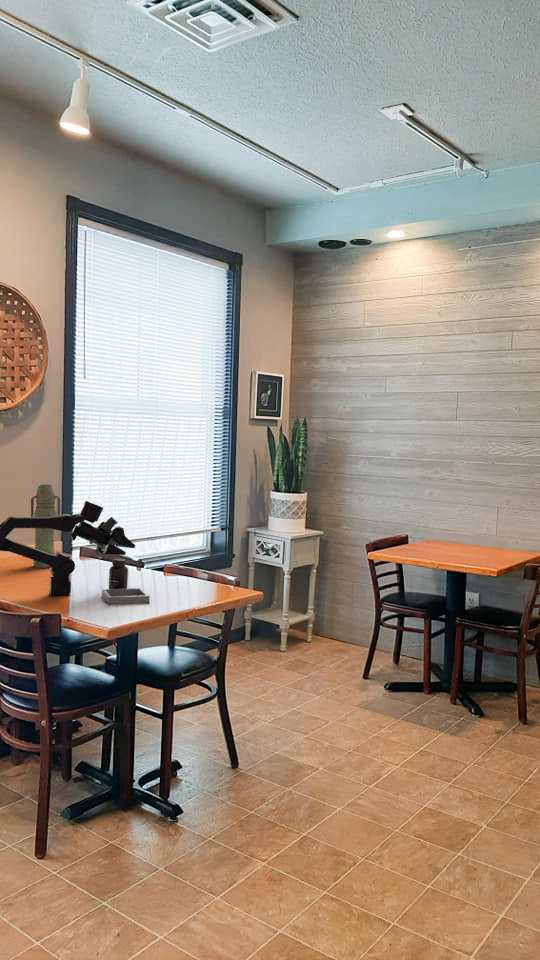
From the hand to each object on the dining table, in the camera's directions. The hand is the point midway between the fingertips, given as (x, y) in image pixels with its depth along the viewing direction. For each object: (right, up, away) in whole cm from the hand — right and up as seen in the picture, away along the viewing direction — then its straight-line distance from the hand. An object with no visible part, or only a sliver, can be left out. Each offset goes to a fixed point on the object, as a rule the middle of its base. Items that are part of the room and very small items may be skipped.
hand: (130, 550), depth 284 cm
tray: (+1, -16, -13) cm, 21 cm away
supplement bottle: (-4, -15, 0) cm, 16 cm away
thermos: (-45, -11, +47) cm, 67 cm away
